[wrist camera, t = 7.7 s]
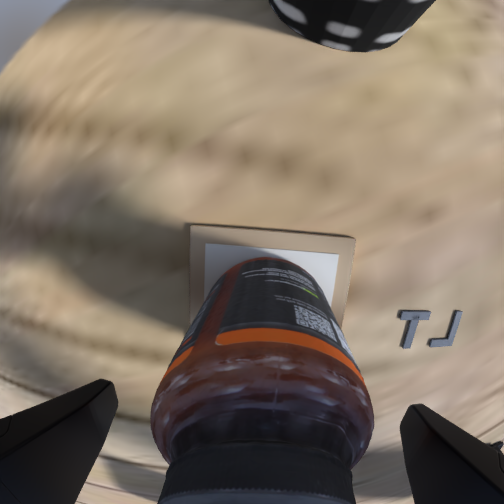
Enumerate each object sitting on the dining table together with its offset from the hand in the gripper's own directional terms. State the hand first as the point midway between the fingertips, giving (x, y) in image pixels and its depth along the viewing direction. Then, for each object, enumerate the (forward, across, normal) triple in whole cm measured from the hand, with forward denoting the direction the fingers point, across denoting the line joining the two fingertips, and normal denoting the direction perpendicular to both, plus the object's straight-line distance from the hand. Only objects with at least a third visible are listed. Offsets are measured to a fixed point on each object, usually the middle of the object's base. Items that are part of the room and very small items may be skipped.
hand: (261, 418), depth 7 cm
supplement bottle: (+8, 0, 0) cm, 8 cm away
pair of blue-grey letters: (+8, -10, +1) cm, 13 cm away
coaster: (+8, 0, 0) cm, 8 cm away
